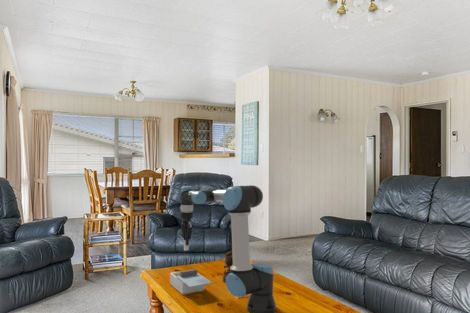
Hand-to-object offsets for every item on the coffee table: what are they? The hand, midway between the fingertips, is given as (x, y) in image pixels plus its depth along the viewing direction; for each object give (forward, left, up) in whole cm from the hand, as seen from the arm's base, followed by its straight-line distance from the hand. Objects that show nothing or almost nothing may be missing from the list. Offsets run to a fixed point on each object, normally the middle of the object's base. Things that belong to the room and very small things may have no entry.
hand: (186, 250), depth 220 cm
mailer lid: (-9, -8, -15) cm, 19 cm away
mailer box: (-1, -1, -22) cm, 22 cm away
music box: (+18, -25, -22) cm, 38 cm away
